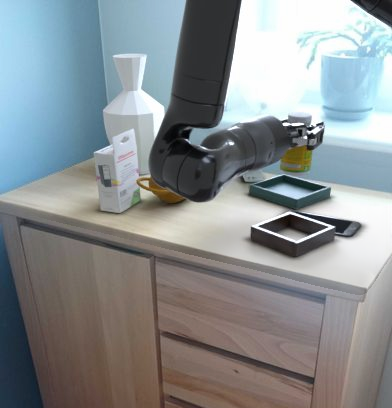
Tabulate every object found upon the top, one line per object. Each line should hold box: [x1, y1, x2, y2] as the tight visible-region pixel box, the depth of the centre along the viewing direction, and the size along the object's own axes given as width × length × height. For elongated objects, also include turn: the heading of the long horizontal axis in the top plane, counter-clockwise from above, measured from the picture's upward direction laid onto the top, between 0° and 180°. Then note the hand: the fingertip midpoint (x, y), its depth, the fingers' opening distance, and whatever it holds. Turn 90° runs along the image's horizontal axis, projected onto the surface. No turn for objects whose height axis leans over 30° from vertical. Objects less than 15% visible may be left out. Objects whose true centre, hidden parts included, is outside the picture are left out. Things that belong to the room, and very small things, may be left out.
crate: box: [249, 212, 336, 258], centre depth 99 cm, size 11×11×2 cm
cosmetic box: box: [242, 168, 264, 183], centre depth 127 cm, size 6×4×12 cm
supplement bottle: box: [279, 111, 314, 177], centre depth 97 cm, size 5×5×10 cm
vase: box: [102, 53, 165, 175], centre depth 130 cm, size 14×14×25 cm
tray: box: [248, 173, 332, 210], centre depth 119 cm, size 13×11×2 cm
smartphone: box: [285, 209, 362, 238], centre depth 106 cm, size 7×15×1 cm, turn 60°
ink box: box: [92, 129, 142, 214], centre depth 112 cm, size 9×5×15 cm, turn 154°
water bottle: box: [137, 176, 186, 204], centre depth 116 cm, size 9×9×25 cm
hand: (305, 125), depth 97 cm, fingers closed on supplement bottle, 5 cm apart
